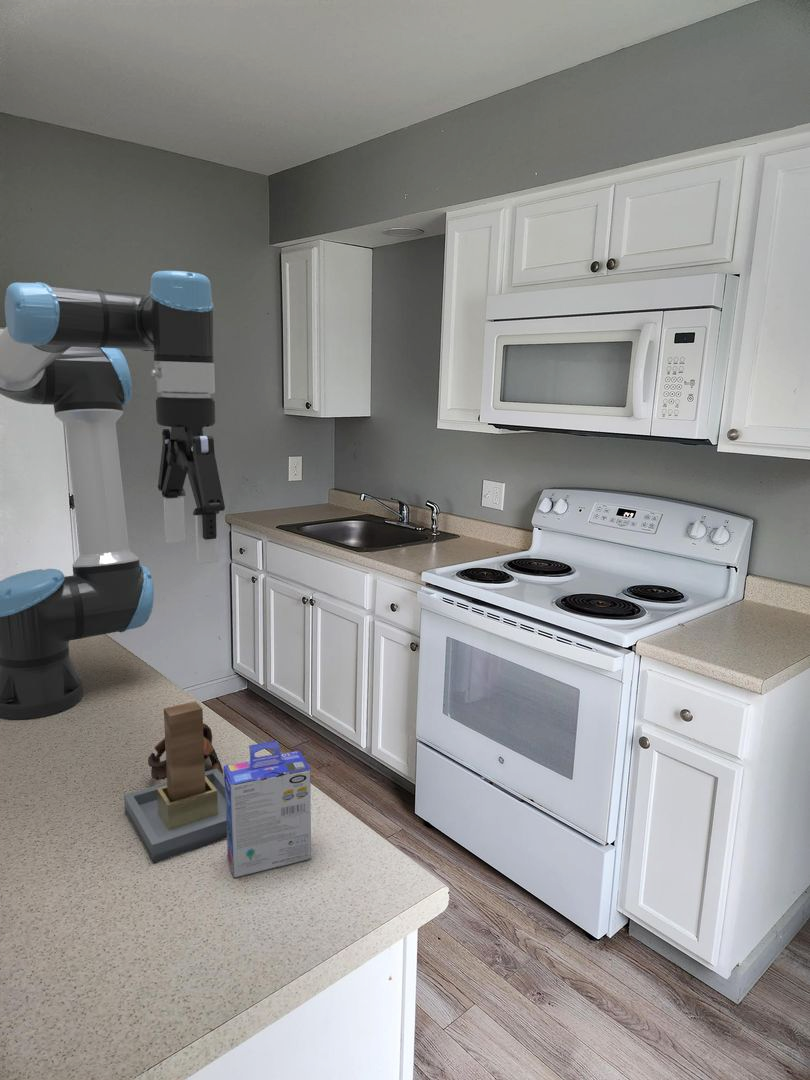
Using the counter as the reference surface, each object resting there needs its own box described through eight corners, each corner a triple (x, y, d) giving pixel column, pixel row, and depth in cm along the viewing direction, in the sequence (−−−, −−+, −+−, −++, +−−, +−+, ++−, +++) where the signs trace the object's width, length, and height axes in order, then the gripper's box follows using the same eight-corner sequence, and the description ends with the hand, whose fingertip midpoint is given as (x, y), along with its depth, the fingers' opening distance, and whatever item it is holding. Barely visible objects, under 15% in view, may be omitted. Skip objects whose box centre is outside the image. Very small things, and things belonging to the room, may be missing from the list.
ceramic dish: (124, 811, 99) (123, 795, 98) (217, 784, 106) (216, 768, 106) (153, 863, 88) (152, 845, 88) (253, 828, 96) (253, 811, 95)
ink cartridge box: (301, 834, 95) (300, 731, 92) (314, 859, 90) (313, 751, 87) (224, 852, 91) (221, 745, 88) (233, 879, 86) (230, 767, 83)
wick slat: (168, 813, 97) (163, 708, 94) (199, 803, 99) (195, 701, 96) (174, 823, 95) (169, 716, 92) (206, 813, 97) (202, 708, 94)
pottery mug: (218, 798, 103) (186, 758, 100) (164, 817, 106) (130, 778, 103) (239, 739, 114) (211, 701, 111) (190, 758, 116) (160, 721, 113)
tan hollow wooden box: (157, 812, 97) (156, 788, 96) (205, 797, 101) (204, 774, 100) (169, 830, 93) (168, 805, 93) (218, 814, 97) (217, 790, 96)
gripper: (131, 392, 104) (138, 536, 109) (188, 399, 84) (194, 576, 89) (183, 393, 109) (188, 532, 113) (249, 399, 89) (251, 568, 93)
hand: (190, 551), depth 101 cm, fingers open, 13 cm apart
